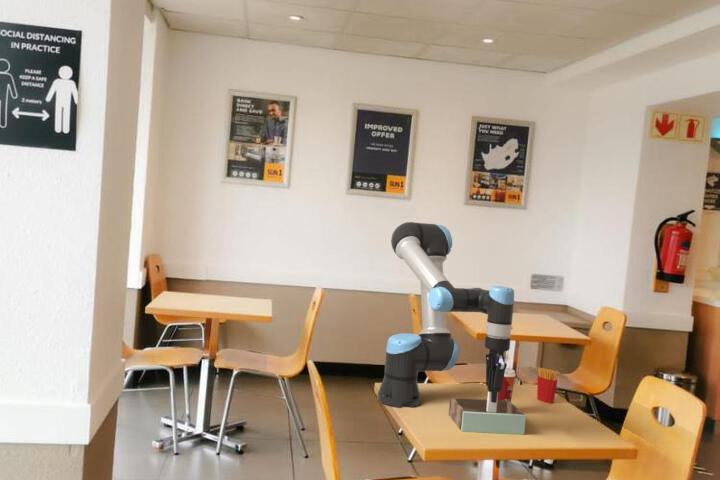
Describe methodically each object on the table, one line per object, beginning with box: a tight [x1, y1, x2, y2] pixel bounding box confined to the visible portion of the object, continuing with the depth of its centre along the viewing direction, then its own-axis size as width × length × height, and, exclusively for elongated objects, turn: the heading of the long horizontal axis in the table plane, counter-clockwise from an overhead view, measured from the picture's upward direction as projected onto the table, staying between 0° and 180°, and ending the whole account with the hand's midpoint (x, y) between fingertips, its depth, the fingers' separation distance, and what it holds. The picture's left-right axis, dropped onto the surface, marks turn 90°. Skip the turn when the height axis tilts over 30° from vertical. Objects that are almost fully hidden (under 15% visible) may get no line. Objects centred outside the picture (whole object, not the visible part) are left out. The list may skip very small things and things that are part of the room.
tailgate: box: [460, 411, 527, 435], centre depth 187 cm, size 1×20×6 cm, turn 96°
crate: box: [448, 396, 526, 431], centre depth 195 cm, size 14×20×7 cm
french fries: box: [536, 367, 558, 404], centre depth 233 cm, size 8×4×12 cm, turn 32°
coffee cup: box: [497, 367, 517, 403], centre depth 213 cm, size 8×8×15 cm
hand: (491, 411), depth 190 cm, fingers closed
